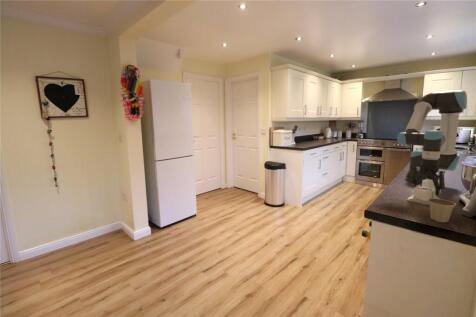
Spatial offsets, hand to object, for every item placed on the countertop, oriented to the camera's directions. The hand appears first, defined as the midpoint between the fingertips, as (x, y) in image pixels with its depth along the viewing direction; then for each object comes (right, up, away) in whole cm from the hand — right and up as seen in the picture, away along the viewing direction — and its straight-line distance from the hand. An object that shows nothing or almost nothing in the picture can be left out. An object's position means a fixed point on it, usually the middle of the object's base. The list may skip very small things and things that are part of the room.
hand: (425, 198), depth 130 cm
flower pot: (-14, -6, -25) cm, 29 cm away
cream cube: (-1, 0, 0) cm, 1 cm away
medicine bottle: (+16, +1, +15) cm, 22 cm away
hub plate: (0, -1, +1) cm, 1 cm away
